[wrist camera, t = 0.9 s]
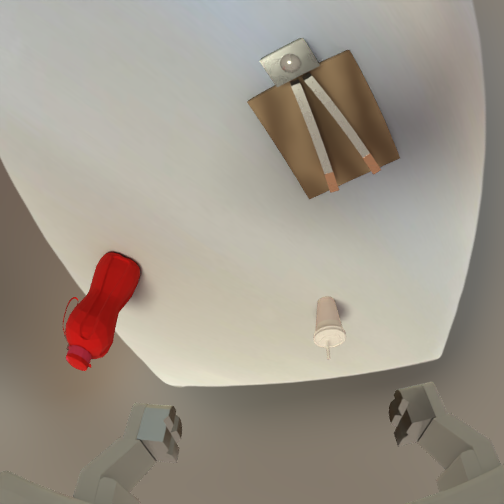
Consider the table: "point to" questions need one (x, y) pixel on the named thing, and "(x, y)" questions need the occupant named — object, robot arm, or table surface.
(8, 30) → the table surface
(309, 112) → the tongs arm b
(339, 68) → the walnut board
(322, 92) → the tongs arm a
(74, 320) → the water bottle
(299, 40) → the pivot block
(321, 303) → the smoothie
